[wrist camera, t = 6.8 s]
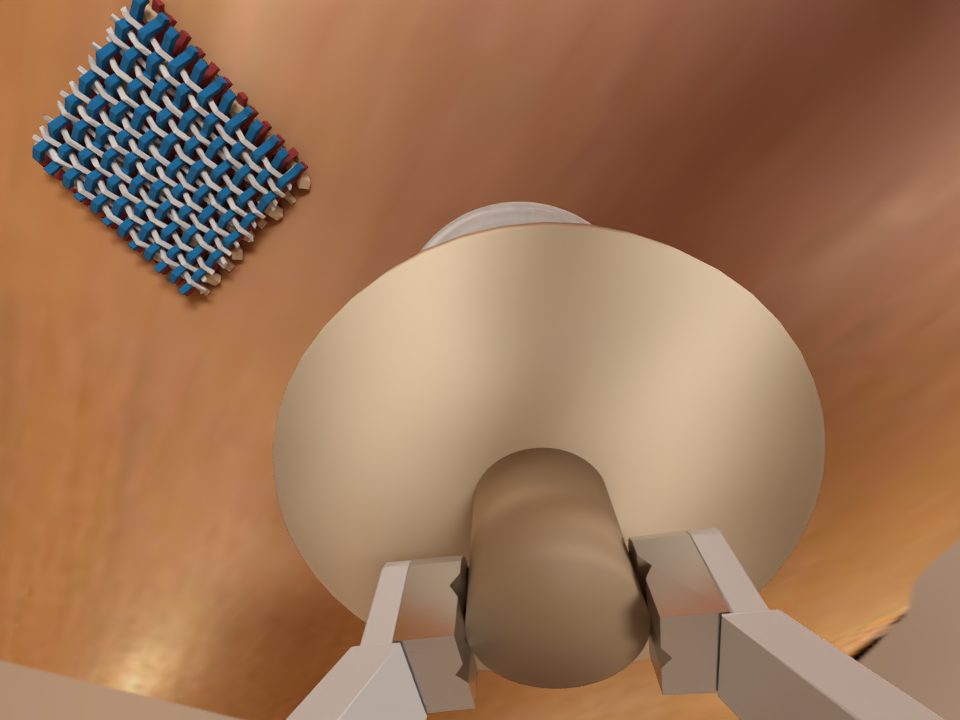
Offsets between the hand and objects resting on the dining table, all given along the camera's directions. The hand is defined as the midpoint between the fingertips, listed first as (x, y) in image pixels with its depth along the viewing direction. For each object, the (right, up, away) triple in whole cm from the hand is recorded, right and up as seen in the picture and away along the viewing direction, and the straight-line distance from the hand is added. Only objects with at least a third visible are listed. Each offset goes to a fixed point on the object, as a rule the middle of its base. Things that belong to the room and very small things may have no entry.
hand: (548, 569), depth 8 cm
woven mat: (-17, +14, +15) cm, 27 cm away
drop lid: (0, +1, +2) cm, 3 cm away
